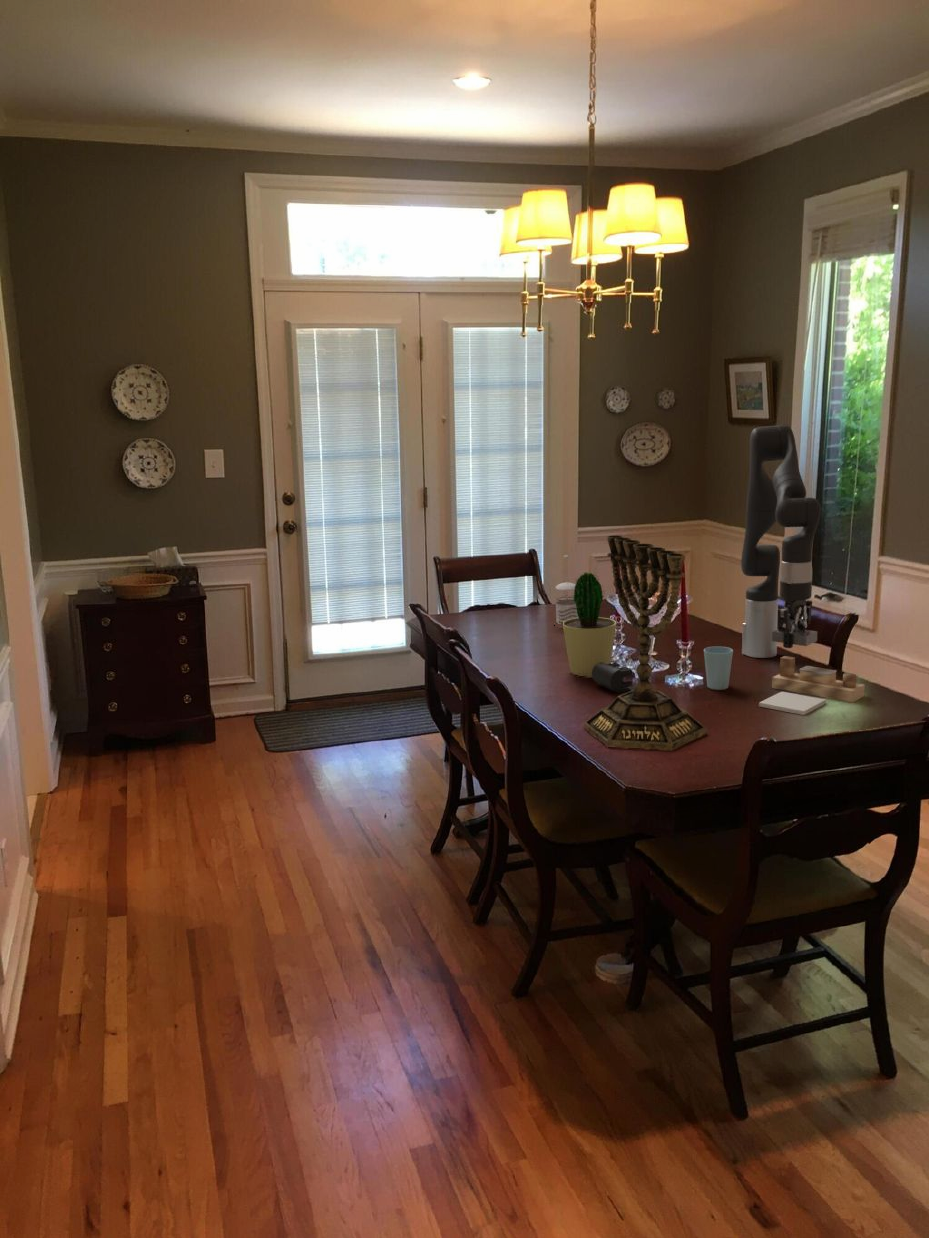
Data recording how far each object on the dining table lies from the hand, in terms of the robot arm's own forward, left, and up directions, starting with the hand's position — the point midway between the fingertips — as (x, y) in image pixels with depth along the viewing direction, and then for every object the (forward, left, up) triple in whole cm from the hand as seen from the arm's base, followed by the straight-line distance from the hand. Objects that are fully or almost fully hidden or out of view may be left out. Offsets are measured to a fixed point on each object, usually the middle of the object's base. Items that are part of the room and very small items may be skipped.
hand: (794, 644), depth 251 cm
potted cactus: (-60, -5, -16) cm, 62 cm away
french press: (-102, +39, -16) cm, 110 cm away
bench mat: (0, 0, -16) cm, 16 cm away
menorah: (-18, -39, -16) cm, 46 cm away
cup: (-23, +3, -16) cm, 28 cm away
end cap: (-45, -15, -16) cm, 50 cm away
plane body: (0, +14, -16) cm, 21 cm away
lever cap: (0, 0, +1) cm, 1 cm away
